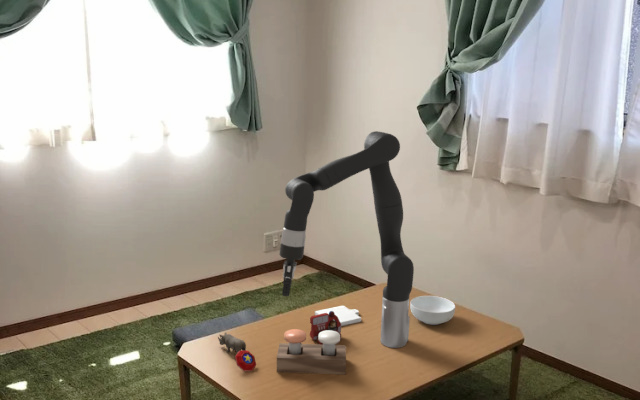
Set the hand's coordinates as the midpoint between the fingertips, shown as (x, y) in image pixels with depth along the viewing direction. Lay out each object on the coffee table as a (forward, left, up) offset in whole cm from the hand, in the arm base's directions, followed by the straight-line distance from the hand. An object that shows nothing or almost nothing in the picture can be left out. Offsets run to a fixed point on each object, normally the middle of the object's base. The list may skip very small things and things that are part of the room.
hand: (286, 291), depth 197 cm
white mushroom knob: (-9, +11, -21) cm, 25 cm away
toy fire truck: (-21, -3, -25) cm, 33 cm away
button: (+12, -6, -25) cm, 29 cm away
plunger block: (-5, +7, -25) cm, 26 cm away
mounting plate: (-37, -13, -26) cm, 47 cm away
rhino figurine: (+9, -18, -25) cm, 32 cm away
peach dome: (-1, +3, -21) cm, 21 cm away
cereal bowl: (-63, +12, -25) cm, 69 cm away
